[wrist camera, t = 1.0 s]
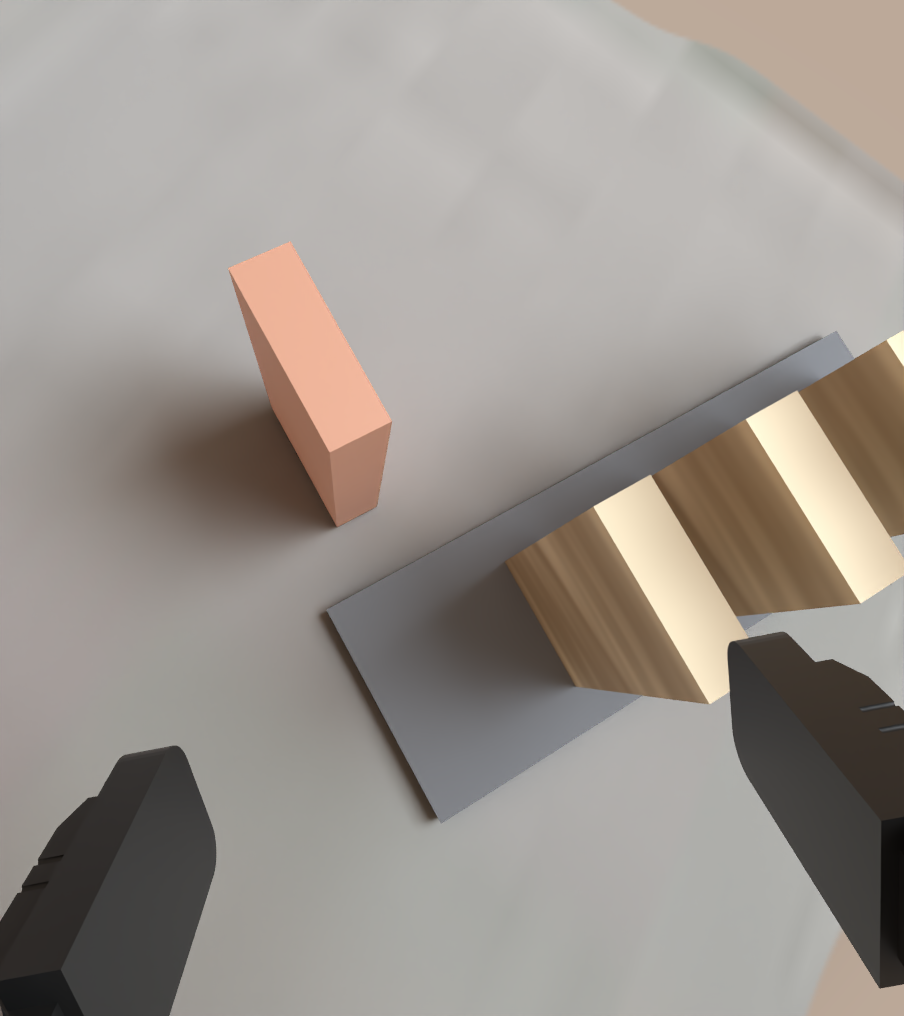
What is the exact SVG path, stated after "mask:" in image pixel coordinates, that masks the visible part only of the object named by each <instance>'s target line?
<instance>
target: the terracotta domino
mask: <svg viewBox="0 0 904 1016" xmlns="http://www.w3.org/2000/svg"><path fill="white" fill-rule="evenodd" d="M228 269H229V272H230V276H231V279H232V282H233V285H234V288H235V292H236V295H237V298H238V301H239V304H240V308H241V311H242V314H243V317H244V320H245V324H246V327H247V330H248V333H249V336H250V340H251V343H252V346H253V349H254V352H255V355H256V359H257V362H258V365H259V368H260V371H261V375H262V378H263V381H264V384H265V387H266V391H267V394H268V397H269V400H270V403H271V407H272V409H273V411H274V412H275V414H276V416H277V418H278V420H279V422H280V423H281V425H282V427H283V429H284V431H285V433H286V434H287V436H288V438H289V440H290V442H291V444H292V445H293V447H294V449H295V451H296V453H297V455H298V456H299V458H300V460H301V462H302V464H303V466H304V467H305V469H306V471H307V473H308V475H309V477H310V478H311V480H312V482H313V484H314V486H315V488H316V489H317V491H318V493H319V495H320V497H321V499H322V500H323V502H324V504H325V506H326V508H327V510H328V511H329V513H330V515H331V517H332V519H333V521H334V522H335V524H336V526H337V527H339V526H340V525H342V524H344V523H346V522H348V521H350V520H352V519H354V518H356V517H358V516H360V515H362V514H363V513H365V512H367V511H369V510H371V509H373V508H375V507H377V503H378V497H379V492H380V486H381V480H382V475H383V469H384V464H385V458H386V452H387V447H388V441H389V435H390V430H391V424H392V421H391V419H390V417H389V415H388V413H387V412H386V410H385V408H384V406H383V405H382V403H381V401H380V399H379V398H378V396H377V394H376V392H375V390H374V389H373V387H372V385H371V383H370V382H369V380H368V378H367V376H366V374H365V373H364V371H363V369H362V367H361V366H360V364H359V362H358V360H357V359H356V357H355V355H354V353H353V351H352V350H351V348H350V346H349V344H348V343H347V341H346V339H345V337H344V335H343V334H342V332H341V330H340V328H339V327H338V325H337V323H336V321H335V319H334V318H333V316H332V314H331V312H330V311H329V309H328V307H327V305H326V304H325V302H324V300H323V298H322V296H321V295H320V293H319V291H318V289H317V288H316V286H315V284H314V282H313V280H312V279H311V277H310V275H309V273H308V272H307V270H306V268H305V266H304V265H303V263H302V261H301V259H300V257H299V256H298V254H297V252H296V250H295V249H294V247H293V245H292V243H291V241H290V242H288V243H286V244H283V245H281V246H279V247H276V248H274V249H272V250H269V251H267V252H265V253H262V254H260V255H258V256H255V257H253V258H251V259H248V260H246V261H244V262H241V263H239V264H237V265H234V266H232V267H230V268H228Z"/></svg>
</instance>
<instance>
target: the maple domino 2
mask: <svg viewBox="0 0 904 1016" xmlns="http://www.w3.org/2000/svg"><path fill="white" fill-rule="evenodd" d="M652 478H653V480H654V481H655V483H656V485H657V486H658V488H659V490H660V491H661V493H662V495H663V496H664V498H665V499H666V501H667V503H668V504H669V506H670V508H671V509H672V511H673V513H674V514H675V516H676V518H677V519H678V521H679V523H680V524H681V526H682V528H683V529H684V531H685V533H686V534H687V536H688V538H689V539H690V541H691V543H692V544H693V546H694V548H695V549H696V551H697V553H698V554H699V556H700V558H701V559H702V561H703V563H704V564H705V566H706V568H707V569H708V571H709V573H710V574H711V576H712V578H713V579H714V581H715V583H716V584H717V586H718V588H719V589H720V591H721V593H722V594H723V596H724V598H725V599H726V601H727V603H728V604H729V606H730V608H731V609H732V611H733V613H734V614H735V616H736V617H737V616H747V615H756V614H766V613H775V612H785V611H795V610H804V609H814V608H823V607H833V606H842V605H852V604H861V603H862V602H864V601H865V600H867V599H868V598H870V597H871V596H873V595H874V594H876V593H877V592H879V591H881V590H882V589H884V588H885V587H887V586H888V585H890V584H891V583H893V582H894V581H896V580H897V579H899V578H900V577H902V576H903V575H904V558H903V557H902V555H901V553H900V552H899V550H898V549H897V547H896V546H895V544H894V542H893V541H892V539H891V538H890V536H889V535H888V533H887V531H886V530H885V528H884V527H883V525H882V523H881V522H880V520H879V519H878V517H877V516H876V514H875V512H874V511H873V509H872V508H871V506H870V505H869V503H868V501H867V500H866V498H865V497H864V495H863V494H862V492H861V490H860V489H859V487H858V486H857V484H856V482H855V481H854V479H853V478H852V476H851V475H850V473H849V471H848V470H847V468H846V467H845V465H844V464H843V462H842V460H841V459H840V457H839V456H838V454H837V453H836V451H835V449H834V448H833V446H832V445H831V443H830V441H829V440H828V438H827V437H826V435H825V434H824V432H823V430H822V429H821V427H820V426H819V424H818V423H817V421H816V419H815V418H814V416H813V415H812V413H811V411H810V410H809V408H808V407H807V405H806V404H805V402H804V400H803V399H802V397H801V396H800V394H799V393H798V391H795V392H793V393H791V394H790V395H788V396H786V397H784V398H783V399H781V400H779V401H777V402H775V403H774V404H772V405H770V406H768V407H766V408H765V409H763V410H761V411H759V412H758V413H756V414H754V415H752V416H750V417H749V418H747V419H745V420H743V421H742V422H740V423H738V424H737V425H735V426H733V427H732V428H730V429H728V430H727V431H725V432H724V433H722V434H720V435H719V436H717V437H715V438H714V439H712V440H710V441H709V442H707V443H705V444H704V445H702V446H700V447H699V448H697V449H695V450H694V451H692V452H690V453H689V454H687V455H685V456H684V457H682V458H680V459H679V460H677V461H675V462H674V463H672V464H670V465H669V466H667V467H665V468H664V469H662V470H660V471H659V472H657V473H655V474H654V475H652Z"/></svg>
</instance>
